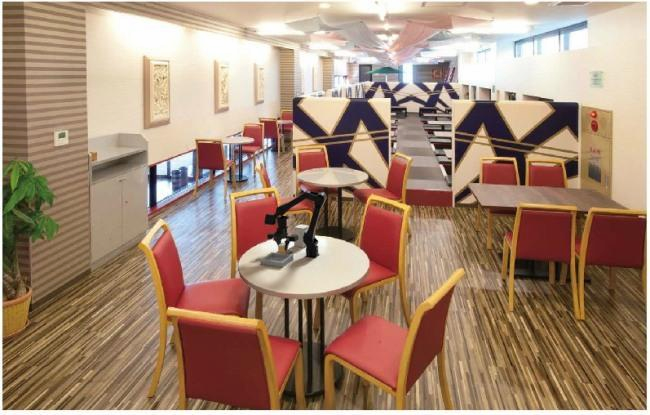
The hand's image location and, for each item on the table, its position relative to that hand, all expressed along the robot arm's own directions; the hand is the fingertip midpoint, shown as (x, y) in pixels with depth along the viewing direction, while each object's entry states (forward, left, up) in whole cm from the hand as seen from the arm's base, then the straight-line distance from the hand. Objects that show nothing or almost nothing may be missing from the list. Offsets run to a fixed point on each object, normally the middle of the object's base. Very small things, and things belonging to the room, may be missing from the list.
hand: (283, 250), depth 314 cm
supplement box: (-4, -19, -2) cm, 20 cm away
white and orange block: (0, 0, -2) cm, 2 cm away
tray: (-3, +14, -2) cm, 15 cm away
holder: (0, 0, -2) cm, 2 cm away
